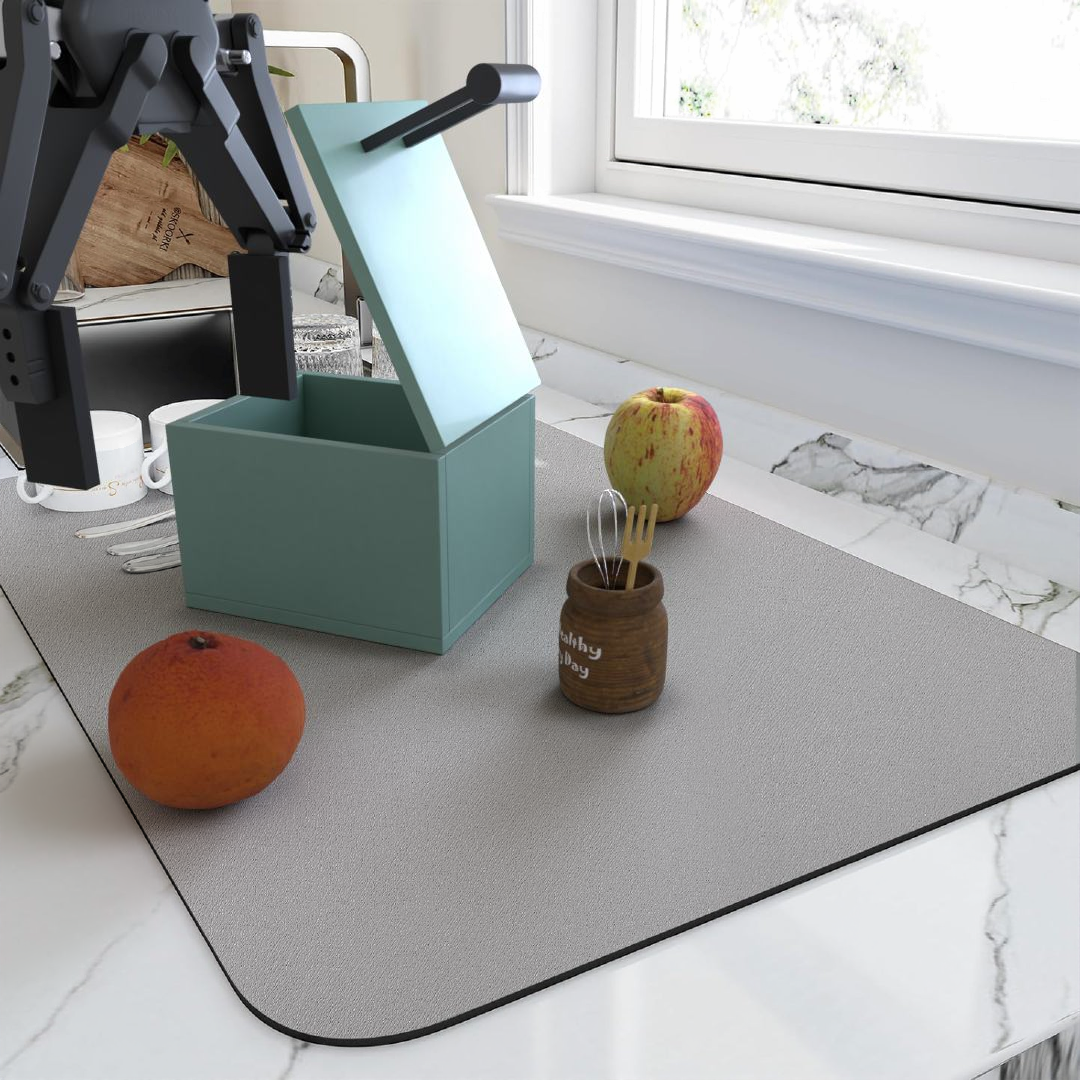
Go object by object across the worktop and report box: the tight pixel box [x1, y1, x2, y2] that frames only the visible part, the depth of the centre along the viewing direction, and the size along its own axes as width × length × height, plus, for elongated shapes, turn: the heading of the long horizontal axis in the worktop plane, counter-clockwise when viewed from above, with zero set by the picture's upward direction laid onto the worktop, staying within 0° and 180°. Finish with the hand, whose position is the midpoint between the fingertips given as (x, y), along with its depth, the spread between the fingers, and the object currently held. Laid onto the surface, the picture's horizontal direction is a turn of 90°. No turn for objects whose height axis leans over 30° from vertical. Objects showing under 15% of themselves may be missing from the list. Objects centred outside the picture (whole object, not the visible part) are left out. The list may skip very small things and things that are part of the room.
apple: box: [603, 386, 724, 523], centre depth 88 cm, size 9×9×10 cm
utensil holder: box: [557, 489, 669, 714], centre depth 62 cm, size 6×6×12 cm
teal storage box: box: [164, 369, 536, 655], centre depth 75 cm, size 18×15×12 cm
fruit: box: [107, 629, 306, 810], centre depth 54 cm, size 9×9×8 cm
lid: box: [283, 62, 542, 452], centre depth 65 cm, size 19×15×10 cm
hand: (179, 435), depth 49 cm, fingers open, 13 cm apart
